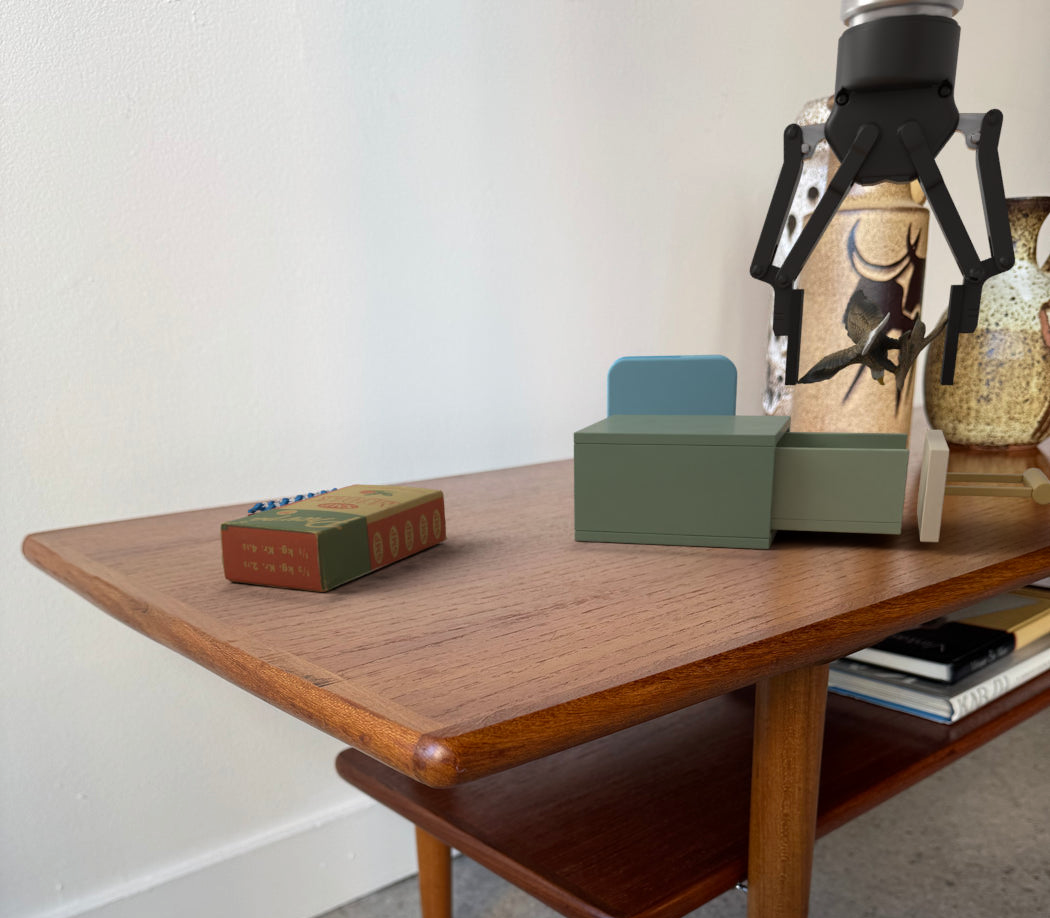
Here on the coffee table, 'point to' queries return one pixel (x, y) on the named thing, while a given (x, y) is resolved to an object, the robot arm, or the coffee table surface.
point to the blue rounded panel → (672, 385)
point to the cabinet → (677, 480)
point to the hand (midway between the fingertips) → (867, 383)
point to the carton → (332, 536)
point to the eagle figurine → (872, 344)
